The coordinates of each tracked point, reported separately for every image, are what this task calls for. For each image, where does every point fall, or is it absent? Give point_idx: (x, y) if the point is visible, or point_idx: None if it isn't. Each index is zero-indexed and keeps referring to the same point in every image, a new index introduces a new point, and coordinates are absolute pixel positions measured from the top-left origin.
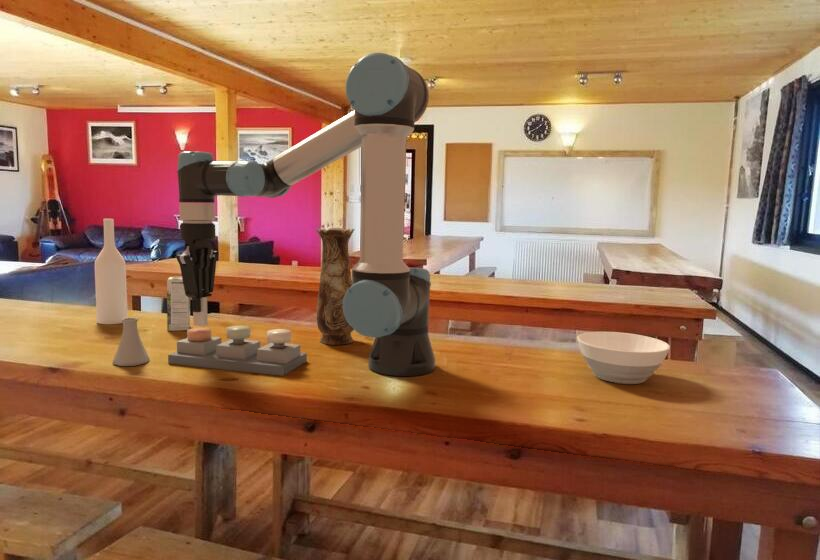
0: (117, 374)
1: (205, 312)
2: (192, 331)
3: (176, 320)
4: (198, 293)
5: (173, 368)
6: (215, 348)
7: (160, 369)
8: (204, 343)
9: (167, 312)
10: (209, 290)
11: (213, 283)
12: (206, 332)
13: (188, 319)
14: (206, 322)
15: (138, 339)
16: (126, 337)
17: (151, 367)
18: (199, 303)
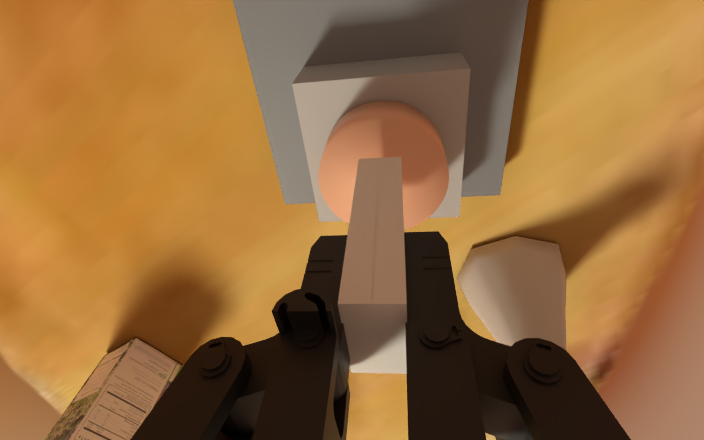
0: (657, 231)
1: (375, 209)
2: (427, 192)
3: (149, 382)
4: (472, 366)
5: (554, 117)
6: (358, 64)
7: (577, 152)
8: (453, 78)
9: None
10: (246, 367)
11: (144, 436)
12: (404, 120)
13: (117, 367)
14: (369, 168)
15: (530, 319)
16: (565, 347)
17: (554, 194)
18: (427, 282)
